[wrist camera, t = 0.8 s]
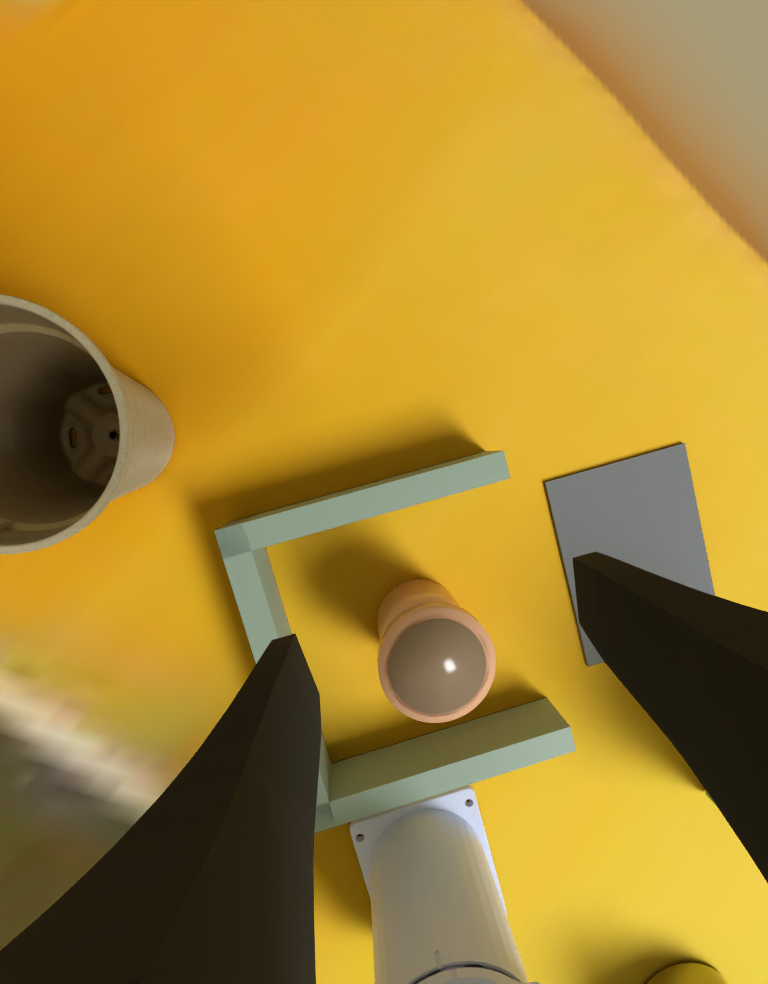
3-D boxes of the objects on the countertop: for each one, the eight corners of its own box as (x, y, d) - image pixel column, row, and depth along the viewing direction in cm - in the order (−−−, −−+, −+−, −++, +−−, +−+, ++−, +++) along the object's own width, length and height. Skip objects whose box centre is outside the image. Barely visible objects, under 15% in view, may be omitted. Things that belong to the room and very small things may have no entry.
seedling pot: (473, 648, 27) (508, 704, 21) (386, 674, 27) (396, 738, 21) (451, 562, 27) (480, 594, 21) (361, 588, 26) (364, 628, 20)
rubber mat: (718, 625, 28) (720, 626, 28) (586, 665, 28) (588, 666, 28) (682, 443, 27) (684, 443, 27) (544, 482, 27) (545, 482, 26)
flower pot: (86, 549, 25) (-52, 599, 16) (-7, 399, 24) (-208, 368, 15) (235, 472, 25) (175, 481, 17) (149, 320, 24) (38, 245, 16)
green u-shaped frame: (551, 719, 28) (576, 750, 25) (314, 793, 27) (310, 834, 24) (486, 451, 26) (503, 450, 23) (229, 521, 25) (213, 531, 22)
